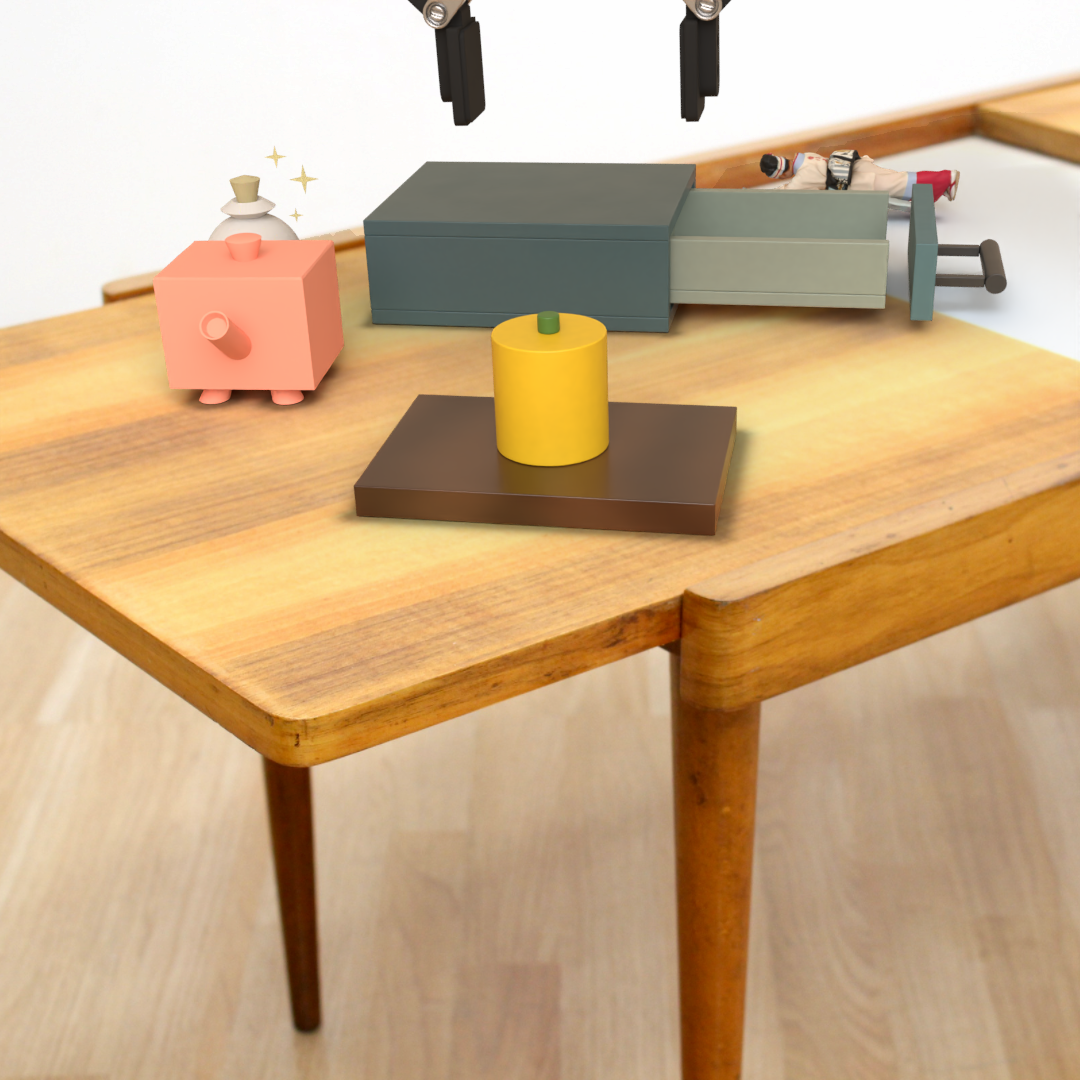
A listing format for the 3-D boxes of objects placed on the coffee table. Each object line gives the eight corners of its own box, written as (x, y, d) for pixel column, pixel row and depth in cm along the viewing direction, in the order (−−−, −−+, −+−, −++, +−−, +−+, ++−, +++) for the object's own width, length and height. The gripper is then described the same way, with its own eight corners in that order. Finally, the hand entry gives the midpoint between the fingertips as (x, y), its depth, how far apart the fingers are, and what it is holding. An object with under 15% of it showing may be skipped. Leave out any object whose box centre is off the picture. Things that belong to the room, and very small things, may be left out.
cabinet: (695, 259, 102) (696, 163, 99) (668, 332, 89) (668, 225, 86) (433, 254, 105) (426, 161, 102) (372, 324, 93) (362, 220, 90)
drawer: (994, 254, 97) (1000, 184, 95) (1008, 323, 86) (1016, 245, 84) (665, 247, 101) (665, 180, 99) (637, 312, 90) (636, 238, 88)
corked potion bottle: (222, 295, 99) (201, 136, 94) (338, 292, 98) (323, 133, 94) (201, 326, 93) (177, 160, 89) (324, 323, 93) (306, 156, 88)
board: (736, 434, 76) (737, 406, 75) (714, 536, 66) (715, 504, 66) (420, 421, 79) (418, 393, 78) (356, 516, 69) (353, 485, 69)
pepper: (617, 424, 74) (614, 297, 71) (599, 469, 69) (596, 335, 66) (510, 420, 75) (503, 294, 72) (485, 464, 70) (477, 331, 67)
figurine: (941, 204, 114) (738, 180, 115) (964, 149, 106) (745, 124, 107) (933, 280, 113) (727, 255, 114) (955, 231, 105) (733, 204, 106)
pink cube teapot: (151, 431, 79) (125, 274, 75) (222, 349, 90) (203, 208, 86) (300, 433, 78) (282, 274, 74) (354, 350, 89) (340, 207, 85)
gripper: (796, -359, 60) (790, 94, 68) (366, -325, 63) (407, 102, 71) (787, -369, 53) (781, 134, 61) (307, -331, 57) (360, 141, 64)
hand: (580, 117), depth 66 cm, fingers open, 9 cm apart
